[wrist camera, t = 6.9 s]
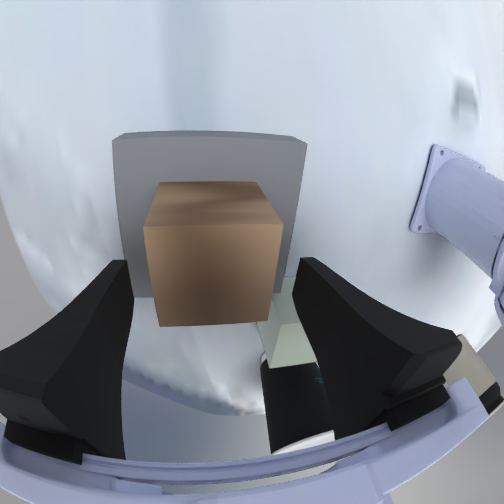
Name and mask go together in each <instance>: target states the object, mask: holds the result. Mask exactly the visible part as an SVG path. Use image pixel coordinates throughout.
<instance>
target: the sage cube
mask: <svg viewBox="0 0 504 504" xmlns="http://www.w3.org/2000/svg"><path fill="white" fill-rule="evenodd" d="M295 279H296V276H292V277H284V278H283V283H282V288H281V293H272V298H271V304H270V310H269V316H268V321H260V322H257V326H258V330H259V333H260V337H261V340H262V344H263V347H264V351H265V354H266V358H267V361H268V365H269V368H277V367H284V366H291V365H298V364H305V363H311V362H317V359H316V357H315V354H314V352H313V349H312V347H311V345H310V343H309V340H308V338H307V336H306V334H305V331H304V329H303V327H302V324H301V322H300V320H299V317H298V315H297V312H296V309H295V305H294V302H293V298H292V291H293V287H294V283H295Z"/></svg>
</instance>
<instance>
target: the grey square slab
mask: <svg viewBox="0 0 504 504" xmlns="http://www.w3.org/2000/svg"><path fill="white" fill-rule="evenodd" d="M112 148H113V168H114V182H115V193H116V203H117V212H118V220H119V227H120V234H121V241H122V247H123V253H124V259H125V260H127V263H128V269H129V274H130V280H131V285H132V290H133V295H134V297H153V291H152V285H151V279H150V273H149V267H148V260H147V253H146V246H145V238H144V230H143V226H144V223H145V220H146V217H147V215H148V212H149V209H150V206H151V204H152V201H153V198H154V196H155V193H156V190H157V188H158V185H159V183H160V182H192V181H245V182H256V183H257V184H258V186H259V187H260V189H261V190H262V192H263V193H264V195H265V196H266V198H267V199H268V201H269V202H270V204H271V205H272V207H273V208H274V210H275V211H276V213H277V215H278V216H279V218H280V219H281V221H282V222H283V224H284V225H283V231H282V238H281V244H280V250H279V257H278V263H277V269H276V275H275V281H274V287H273V293H281V288H282V283H283V278H284V274H285V269H286V264H287V258H288V253H289V248H290V243H291V238H292V232H293V227H294V221H295V216H296V210H297V205H298V199H299V193H300V187H301V181H302V175H303V169H304V163H305V156H306V150H307V143H305V142H303V141H301V140H299V139H296V138H294V137H292V136H283V135H273V134H261V133H248V132H229V131H154V132H137V133H124V134H123V135H121V136H119V137H117V138H115V139H113V140H112Z"/></svg>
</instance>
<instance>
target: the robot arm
mask: <svg viewBox="0 0 504 504" xmlns="http://www.w3.org/2000/svg"><path fill="white" fill-rule="evenodd" d="M440 151H441V152H440ZM410 229H411V231H413V232H417V233H437V234H441V235H442V236H444V237H445V238H446V239H447V240H448V241H450V242H451V243H452V244H453V245H454V246H456V247H457V248H458V249H459V250H460V251H462V252H463V253H464V254H465V255H466V256H467V257H468V258H470V259H471V260H472V261H473V262H474V263H475V264H476V265H477V266H478V267H479V268H481V269H482V270H483V271H484V272H485V273H486V274H487V275H488V276H489V277H490V278H491V279H492V282H491V284H490V286H489V288H490V289H491V290H492V291H493V292H494V293H495V295H496V296H495V300H494V304H495V309H496V312H497V315H498V318H499V320H500V322H501V324H502V326H503V327H504V181H502V180H500V179H499V178H497V177H495V176H493V175H491V174H489V173H487V172H485V167H484V166H483V165H481V164H479V163H477V162H475V161H473V160H471V159H468V158H466V157H464V156H462V155H460V154H458V153H455V152H453V151H451V150H448V149H446V148H444V147H441V146H439V145H434V146H433V148H432V152H431V156H430V160H429V165H428V169H427V172H426V176H425V180H424V184H423V187H422V191H421V194H420V197H419V201H418V204H417V207H416V210H415V213H414V216H413V219H412V222H411V225H410ZM292 298H293V302H294V305H295V309H296V312H297V315H298V317H299V320H300V322H301V324H302V327H303V329H304V331H305V334H306V336H307V338H308V340H309V343H310V345H311V347H312V349H313V352H314V354H315V357H316V359H317V362H318V365H319V369H320V372H321V375H322V379H323V382H324V386H325V390H326V394H327V398H328V403H329V408H330V413H331V418H332V424H333V431H334V438H335V441H332V442H328V443H325V444H321V445H317V446H313V447H309V448H305V449H301V450H296V451H292V452H287V453H282V454H276V455H271V456H265V457H259V458H251V459H243V460H233V461H222V462H206V463H155V462H141V461H130V460H126V458H125V451H124V442H123V433H122V416H121V385H122V370H123V362H124V357H125V352H126V347H127V342H128V337H129V332H130V328H131V323H132V317H133V307H134V295H133V290H132V285H131V280H130V274H129V269H128V263H127V260H112V261H111V262H110V263H109V264H108V265H107V266H106V267H105V268H104V269H103V270H102V272H101V273H100V274H99V275H98V276H97V277H96V278H95V279H94V280H93V281H92V282H91V283H90V284H89V285H88V286H87V287H86V288H85V289H84V290H83V291H82V292H81V293H80V294H79V295H78V296H77V297H76V298H75V299H74V300H73V301H72V302H71V303H70V304H69V305H67V306H66V307H65V308H64V309H63V310H62V311H61V312H59V313H58V314H57V315H56V316H55V317H54V318H52V319H51V320H50V321H48V322H47V323H45V324H44V325H42V326H41V327H40V328H38V329H37V330H36V331H34V332H33V333H31V334H30V335H28V336H27V337H25V338H23V339H22V340H20V341H18V342H17V343H15V344H13V345H11V346H10V347H7V348H5V349H3V350H2V351H0V413H1V414H2V415H3V416H4V417H6V418H7V423H6V425H4V424H2V423H1V422H0V487H1V488H2V489H4V490H6V491H8V492H10V493H12V494H13V495H15V496H17V497H19V498H21V499H23V500H25V501H27V502H29V503H31V504H394V503H393V501H392V498H391V496H390V493H389V492H390V491H392V490H394V489H395V488H397V487H399V486H401V485H402V484H404V483H406V482H407V481H409V480H411V479H412V478H414V477H415V476H417V475H418V474H420V473H421V472H423V471H424V470H426V469H427V468H428V467H430V466H431V465H433V464H434V463H435V462H437V461H438V460H440V459H441V458H442V457H444V456H445V455H446V454H447V453H448V452H450V451H451V450H452V449H454V448H455V447H456V446H457V445H459V444H460V443H461V442H462V441H463V440H464V439H466V438H467V437H468V436H469V435H470V434H471V433H472V432H474V431H475V430H476V429H477V428H478V427H479V426H480V425H481V424H483V423H484V422H485V421H486V420H487V419H488V418H489V415H488V413H487V411H486V409H485V408H484V406H483V404H482V403H481V401H480V399H479V398H478V396H477V394H476V393H475V391H474V390H473V388H472V386H471V385H470V383H469V382H468V380H467V379H466V377H464V378H462V379H460V380H459V381H457V382H455V383H454V384H452V385H450V386H449V387H448V388H447V389H445V387H444V386H443V384H444V383H445V382H446V379H445V378H444V376H443V374H444V373H445V372H446V370H447V369H448V368H449V367H450V366H451V365H452V363H453V362H454V361H455V360H456V358H457V357H458V356H459V354H460V352H461V350H462V346H463V345H462V343H461V341H460V340H459V339H458V337H457V336H456V335H455V333H454V332H453V331H452V330H448V329H444V328H440V327H437V326H433V325H430V324H427V323H424V322H421V321H418V320H416V319H413V318H411V317H408V316H406V315H404V314H402V313H400V312H397V311H395V310H393V309H391V308H389V307H387V306H385V305H384V304H382V303H380V302H378V301H377V300H375V299H373V298H371V297H370V296H368V295H367V294H365V293H364V292H362V291H361V290H359V289H358V288H356V287H355V286H353V285H352V284H350V283H349V282H348V281H346V280H345V279H343V278H342V277H341V276H339V275H338V274H337V273H335V272H334V271H333V270H331V269H330V268H328V267H327V266H326V265H324V264H323V263H321V262H320V261H318V260H317V259H315V258H314V257H305V258H300V262H299V266H298V270H297V274H296V279H295V283H294V287H293V291H292ZM349 456H350V457H349ZM346 457H347V458H346ZM343 458H345V459H343ZM340 459H343V460H340ZM337 460H340V461H338V462H336V464H335V465H334V466H332V467H331V468H330V469H328V470H326V471H324V472H322V473H320V474H318V475H314V476H310V477H306V478H302V479H298V480H293V481H288V482H284V483H278V484H273V485H268V486H262V487H256V488H249V489H242V490H235V491H225V492H216V493H203V494H184V495H183V494H182V495H181V494H180V495H174V494H172V493H170V492H166V491H163V490H162V488H161V487H160V486H155V485H148V484H142V483H150V484H171V485H174V484H175V485H198V484H219V483H231V482H240V481H248V480H255V479H262V478H268V477H274V476H279V475H283V474H289V473H293V472H297V471H302V470H306V469H310V468H313V467H317V466H320V465H324V464H327V463H331V462H334V461H337ZM136 482H138V483H136Z"/></svg>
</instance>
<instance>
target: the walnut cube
mask: <svg viewBox="0 0 504 504" xmlns="http://www.w3.org/2000/svg"><path fill="white" fill-rule="evenodd" d="M283 225H284V224H283V222H282V221H281V219H280V218H279V216H278V215H277V213H276V211H275V210H274V208H273V207H272V205H271V204H270V202H269V201H268V199H267V198H266V196H265V195H264V193H263V192H262V190H261V189H260V187H259V186H258V184H257V183H256V182H245V181H192V182H160V183H159V185H158V188H157V190H156V193H155V196H154V198H153V201H152V204H151V206H150V209H149V212H148V215H147V217H146V220H145V223H144V226H143V230H144V238H145V246H146V253H147V260H148V267H149V273H150V279H151V285H152V291H153V297H154V302H155V307H156V312H157V317H158V322H159V326H160V327H169V326H199V325H219V324H235V323H248V322H260V321H268V316H269V310H270V304H271V298H272V293H273V287H274V281H275V275H276V269H277V263H278V257H279V250H280V244H281V238H282V231H283Z"/></svg>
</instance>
